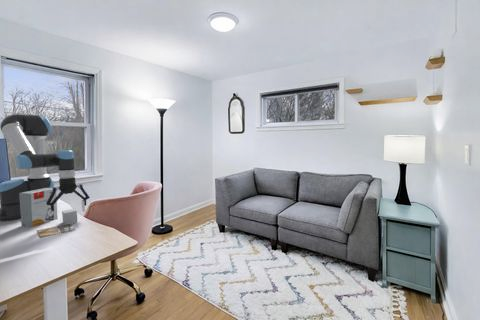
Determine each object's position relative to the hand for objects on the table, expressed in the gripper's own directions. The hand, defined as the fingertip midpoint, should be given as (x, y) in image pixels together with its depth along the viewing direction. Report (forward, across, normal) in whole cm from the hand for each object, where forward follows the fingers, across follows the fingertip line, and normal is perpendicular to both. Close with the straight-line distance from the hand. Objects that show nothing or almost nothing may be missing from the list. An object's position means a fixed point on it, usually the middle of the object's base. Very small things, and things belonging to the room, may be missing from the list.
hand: (69, 213), depth 139 cm
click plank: (+6, -11, -9) cm, 16 cm away
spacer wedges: (+5, -3, -14) cm, 15 cm away
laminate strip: (+6, -4, -9) cm, 12 cm away
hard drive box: (+6, -12, +14) cm, 19 cm away
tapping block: (+6, 0, 0) cm, 6 cm away
